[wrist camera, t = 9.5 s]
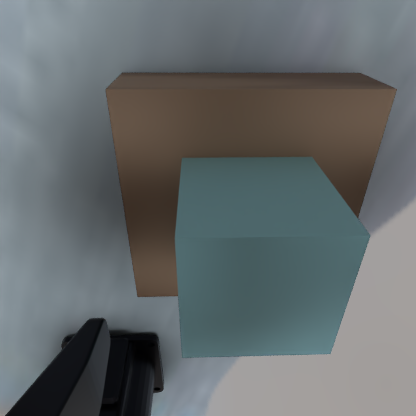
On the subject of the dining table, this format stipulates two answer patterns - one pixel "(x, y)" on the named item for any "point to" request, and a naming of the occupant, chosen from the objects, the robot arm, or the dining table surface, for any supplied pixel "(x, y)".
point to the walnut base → (233, 142)
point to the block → (262, 257)
